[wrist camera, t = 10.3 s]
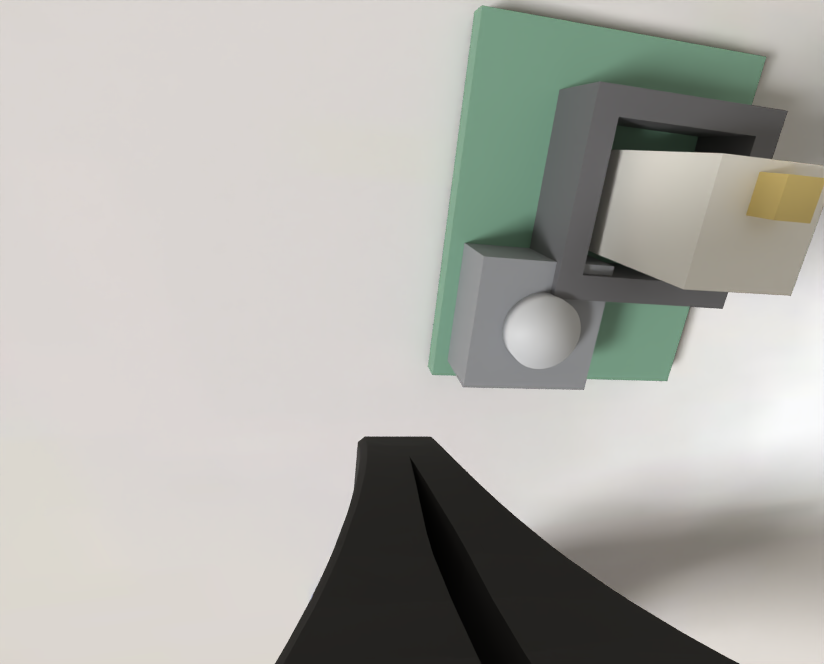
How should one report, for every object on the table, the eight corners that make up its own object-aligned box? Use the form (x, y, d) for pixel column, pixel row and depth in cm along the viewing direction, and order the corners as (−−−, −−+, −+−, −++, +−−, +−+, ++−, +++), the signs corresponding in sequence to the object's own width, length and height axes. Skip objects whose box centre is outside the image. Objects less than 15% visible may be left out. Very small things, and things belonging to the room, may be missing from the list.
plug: (650, 249, 19) (818, 305, 12) (571, 243, 18) (706, 298, 12) (674, 158, 18) (871, 169, 11) (591, 149, 17) (751, 154, 11)
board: (654, 372, 22) (716, 414, 18) (427, 366, 20) (450, 411, 16) (747, 60, 18) (846, 42, 14) (474, 11, 16) (516, -23, 12)
